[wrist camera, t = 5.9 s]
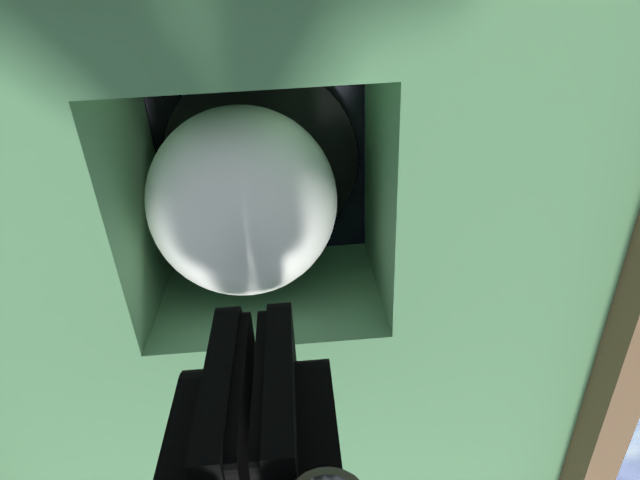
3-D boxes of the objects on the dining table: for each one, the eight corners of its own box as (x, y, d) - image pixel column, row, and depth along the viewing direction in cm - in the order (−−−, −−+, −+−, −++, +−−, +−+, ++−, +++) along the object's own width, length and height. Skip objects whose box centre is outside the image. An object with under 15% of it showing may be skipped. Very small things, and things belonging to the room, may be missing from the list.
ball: (371, 195, 10) (341, 320, 14) (327, 63, 13) (313, 195, 17) (115, 211, 9) (158, 340, 13) (132, 66, 12) (163, 205, 16)
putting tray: (628, -126, 13) (872, -189, 7) (491, 526, 26) (543, 666, 21) (-185, -90, 12) (-551, -133, 7) (108, 562, 26) (63, 716, 20)
